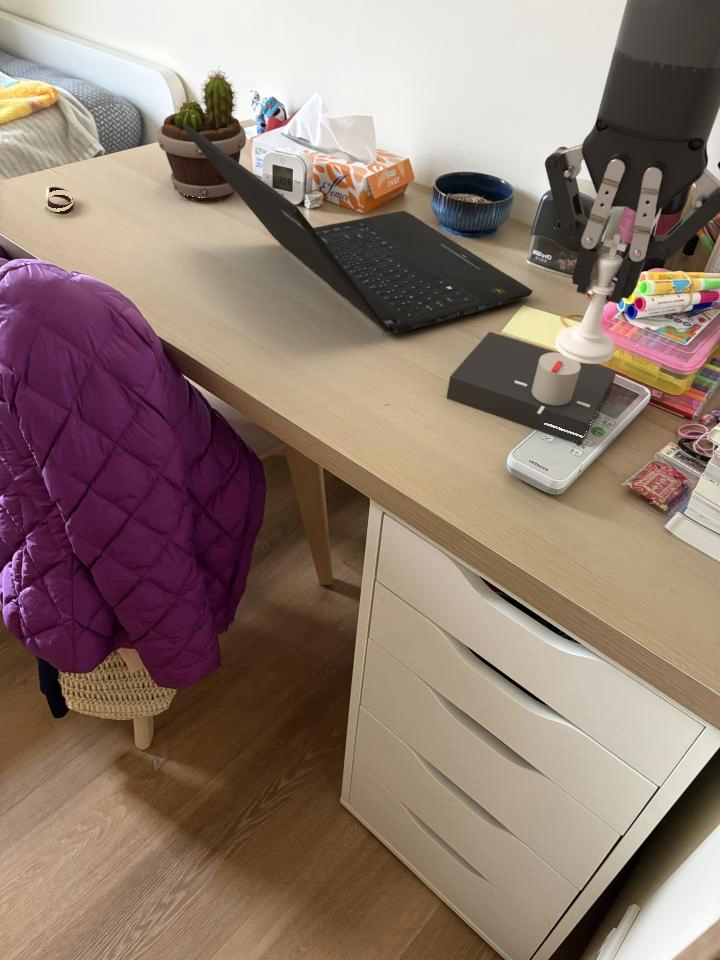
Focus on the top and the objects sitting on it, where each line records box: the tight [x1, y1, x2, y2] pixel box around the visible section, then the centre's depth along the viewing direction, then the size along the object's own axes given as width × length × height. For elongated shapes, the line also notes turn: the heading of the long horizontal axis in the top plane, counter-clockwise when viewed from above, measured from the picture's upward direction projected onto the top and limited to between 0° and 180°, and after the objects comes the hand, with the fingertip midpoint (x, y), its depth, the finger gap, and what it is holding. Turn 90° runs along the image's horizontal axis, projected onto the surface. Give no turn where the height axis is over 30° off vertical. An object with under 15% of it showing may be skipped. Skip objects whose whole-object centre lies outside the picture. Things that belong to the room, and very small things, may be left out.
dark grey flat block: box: [446, 331, 618, 446], centre depth 83 cm, size 16×13×3 cm
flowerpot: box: [156, 65, 247, 203], centre depth 120 cm, size 14×15×20 cm
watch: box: [44, 186, 74, 215], centre depth 117 cm, size 8×5×4 cm, turn 17°
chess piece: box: [554, 232, 629, 365], centre depth 57 cm, size 5×5×10 cm
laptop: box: [184, 124, 533, 334], centre depth 97 cm, size 33×38×19 cm
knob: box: [532, 351, 581, 406], centre depth 78 cm, size 4×4×4 cm
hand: (600, 293), depth 57 cm, fingers closed on chess piece
